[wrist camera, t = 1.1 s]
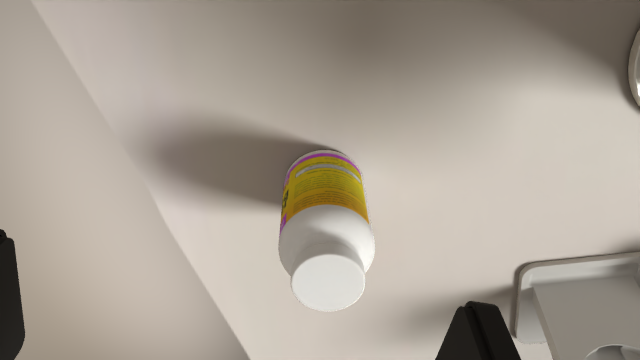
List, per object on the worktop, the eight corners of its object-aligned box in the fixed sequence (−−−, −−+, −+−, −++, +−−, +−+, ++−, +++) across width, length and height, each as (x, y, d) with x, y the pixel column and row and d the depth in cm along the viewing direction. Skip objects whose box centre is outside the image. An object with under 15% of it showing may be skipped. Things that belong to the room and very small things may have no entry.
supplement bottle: (277, 153, 41) (264, 248, 30) (357, 140, 41) (375, 232, 30) (292, 221, 45) (286, 329, 33) (367, 210, 44) (386, 316, 33)
